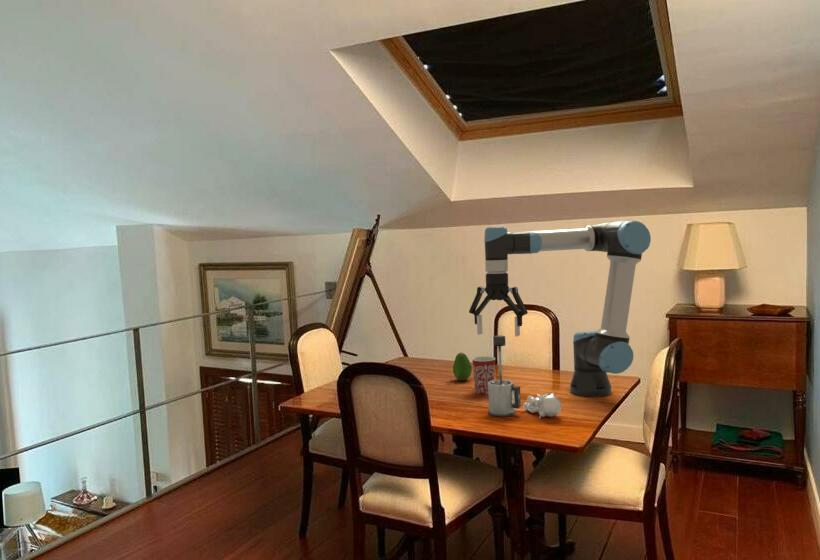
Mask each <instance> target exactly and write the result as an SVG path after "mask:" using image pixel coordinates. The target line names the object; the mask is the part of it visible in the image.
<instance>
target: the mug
mask: <svg viewBox="0 0 820 560" xmlns="http://www.w3.org/2000/svg"><path fill="white" fill-rule="evenodd" d="M471 361H472V371H473V381H474V382H473V383H474V392H475V394H477V395H480V396H488V382H490V381H494V380H495V372H496V371H495V367H496V365H495V364H496V357H494V356H489V355H487V356H486V355H485V356H484V355H483V356H482V355H481V356H480V355H479V356H474V357H472V358H471Z"/></svg>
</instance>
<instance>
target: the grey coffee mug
mask: <svg viewBox="0 0 820 560" xmlns="http://www.w3.org/2000/svg"><path fill="white" fill-rule="evenodd" d="M495 383H499V379H494V381H490V382H488V395H487V396H488V411H487V413H488V415H490V416H492V417H496V418H500V417H501V418H505V417H511V416H512V417H513V416H514V415H516V409H520V408H521V406H522V405H521V386H518V385H515V384H514V382H513V381H512V380H509V379H502V383H507V384H509V385H493V384H495Z"/></svg>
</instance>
